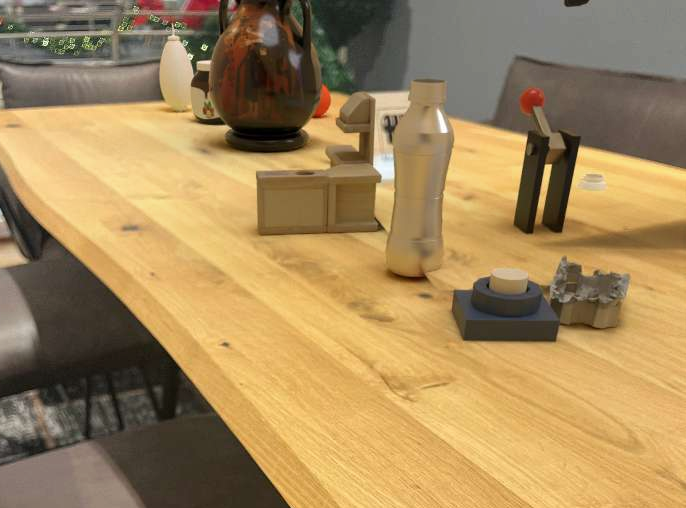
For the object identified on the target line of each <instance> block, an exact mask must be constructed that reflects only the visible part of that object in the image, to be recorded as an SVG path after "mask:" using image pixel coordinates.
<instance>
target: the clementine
mask: <svg viewBox="0 0 686 508" xmlns="http://www.w3.org/2000/svg"><path fill="white" fill-rule="evenodd" d="M331 101H332V97H331V89H330V87H329V85H327V84H326V83H322V97H321V100H320V103H319V106H318V108H317V110H316V112H315V114H314V115H313V117H314V118H319V117H321V116H323V115H325V114H327V112H328V110H329V109H330V107H331V103H332V102H331ZM313 117H312V118H313Z"/></svg>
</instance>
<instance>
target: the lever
mask: <svg viewBox="0 0 686 508" xmlns="http://www.w3.org/2000/svg"><path fill="white" fill-rule="evenodd" d="M518 103H519V108H520V110H521V112H522V113H523V114H524V115H527V116H531V119H532V120H533V123H534V125H535V128H536V131H538V132H540V133H543V134H545V135H547V136H549V137H550V140H549V146H548V151H547V157H546V163H545V166H547V165H548V166H549V165H552V164H560V161H561V159H562V157H563V155H564V153H565V150H566V146H565V143H564V141H563V139H562V136H561V134H560V133H558V132H552V130H551V127H550V126H549V123H548V120H547V118H546V116H545V113H544V110H543V108H544V106H545V103H546V97H545V93H544V91H542V89H540V88H538V87H535V86H534V87H533V86H532V87H528V88H527V89H525V90H524V91H523V92H522V93H521V95H520V97H519V102H518Z"/></svg>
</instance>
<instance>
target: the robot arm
mask: <svg viewBox="0 0 686 508" xmlns="http://www.w3.org/2000/svg"><path fill="white" fill-rule="evenodd" d="M589 2H590V0H563V5H564V6H565V7H566V8H573V7H581V6H585V5H587V4H588V3H589Z"/></svg>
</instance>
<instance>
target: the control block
mask: <svg viewBox="0 0 686 508" xmlns="http://www.w3.org/2000/svg"><path fill="white" fill-rule="evenodd" d="M490 277H491V275H489V276H485V277H479V278H478V279H477V280H476V281H475V282H473V283H472V289H454V290H453V294H452V302H451V312H452V315H453V317H454V321H455V323H456V325H457V327H458V330H459V333H460V335H461V338H462V340H463V341H464V342H465V341H467V342H469V341H470V342H537V343H539V342H544V343H545V342H547V343H548V342H550V343H552V342H554V343H555V342H557V337H558V333H559V328H560V324H561V323H560V320H559V318H558V317H557V315H556V314H555V312H554V311H553V309H552V308H551V306H550V305H551V304H550V303H549V302H548V300H547V299H546V297H545V295H544V294H543V293H544V290H543V288H542V287H541V286H540V284H538V283H536V282H535V281H533V280H530V279H528V284H527V289H526V293H523V294H518V295H506V294H501V293H496V292H494V291H492V290H490V289H489V283H490Z"/></svg>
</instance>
